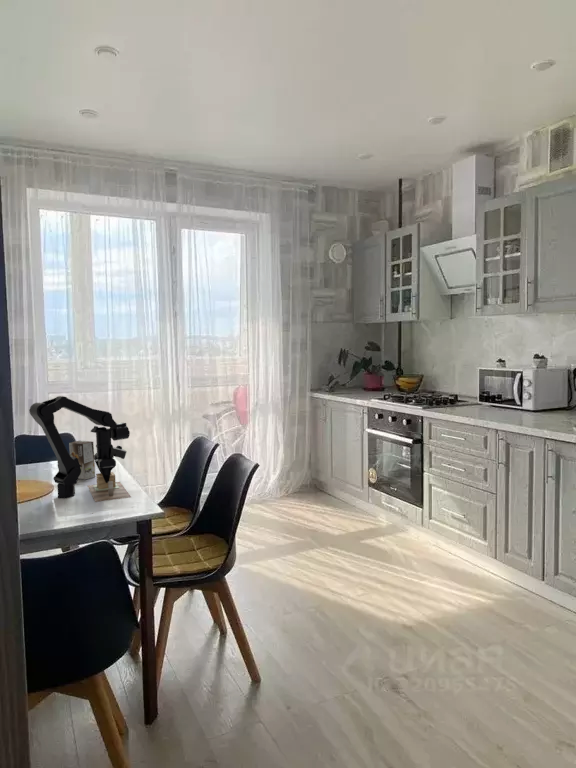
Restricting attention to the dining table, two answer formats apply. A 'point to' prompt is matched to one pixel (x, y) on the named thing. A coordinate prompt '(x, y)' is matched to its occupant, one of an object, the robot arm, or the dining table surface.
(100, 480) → the collar
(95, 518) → the dining table surface
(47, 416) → the robot arm
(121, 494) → the board
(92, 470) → the coffee box
